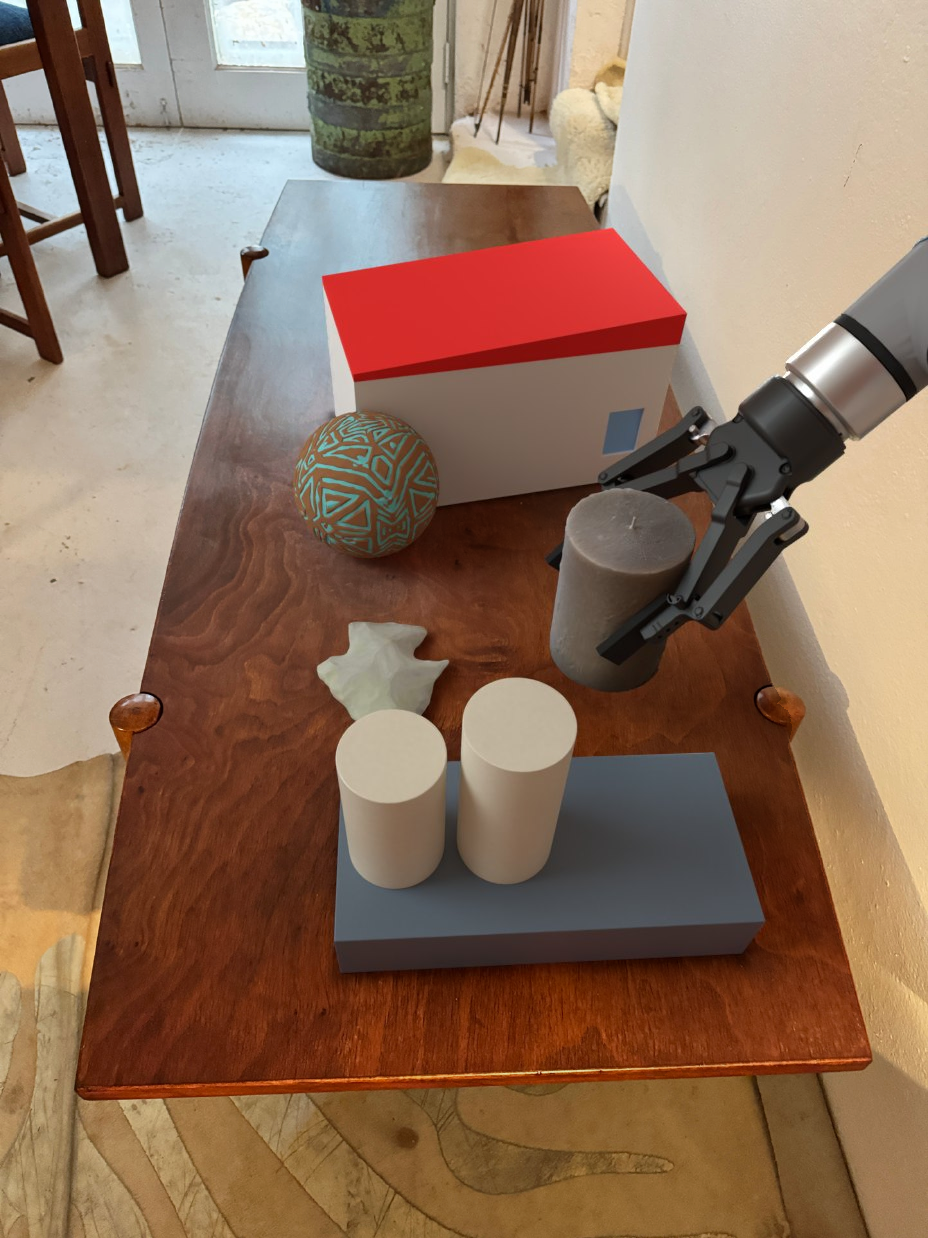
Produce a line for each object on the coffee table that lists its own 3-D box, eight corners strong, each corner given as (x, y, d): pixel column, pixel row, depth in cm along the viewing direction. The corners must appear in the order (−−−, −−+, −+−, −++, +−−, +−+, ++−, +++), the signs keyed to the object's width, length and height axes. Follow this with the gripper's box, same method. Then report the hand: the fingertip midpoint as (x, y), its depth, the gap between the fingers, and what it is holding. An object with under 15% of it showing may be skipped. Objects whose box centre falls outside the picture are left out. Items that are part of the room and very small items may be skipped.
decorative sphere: (328, 604, 86) (314, 489, 75) (284, 515, 95) (265, 400, 84) (461, 563, 91) (465, 448, 80) (406, 482, 100) (404, 369, 89)
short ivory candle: (464, 846, 62) (470, 757, 53) (391, 909, 59) (384, 824, 50) (402, 785, 65) (397, 691, 56) (329, 841, 62) (312, 750, 53)
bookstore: (649, 474, 102) (689, 313, 87) (364, 517, 95) (351, 349, 80) (589, 381, 115) (614, 227, 100) (335, 413, 109) (319, 252, 93)
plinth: (697, 790, 73) (714, 752, 68) (742, 954, 63) (766, 921, 59) (347, 803, 71) (341, 764, 66) (340, 973, 62) (333, 941, 57)
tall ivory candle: (570, 842, 63) (601, 725, 51) (504, 904, 59) (521, 793, 48) (503, 781, 66) (518, 659, 55) (437, 837, 62) (438, 719, 51)
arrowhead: (318, 625, 83) (312, 758, 73) (319, 602, 80) (314, 736, 70) (443, 632, 85) (454, 761, 75) (448, 609, 82) (460, 740, 73)
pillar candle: (677, 685, 70) (723, 552, 59) (563, 701, 68) (589, 567, 57) (639, 601, 76) (674, 467, 65) (535, 614, 75) (552, 479, 64)
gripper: (935, 530, 55) (668, 731, 63) (752, 357, 69) (553, 538, 77) (901, 479, 50) (614, 705, 58) (711, 303, 64) (502, 504, 72)
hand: (580, 610), depth 67 cm, fingers closed on pillar candle, 10 cm apart
